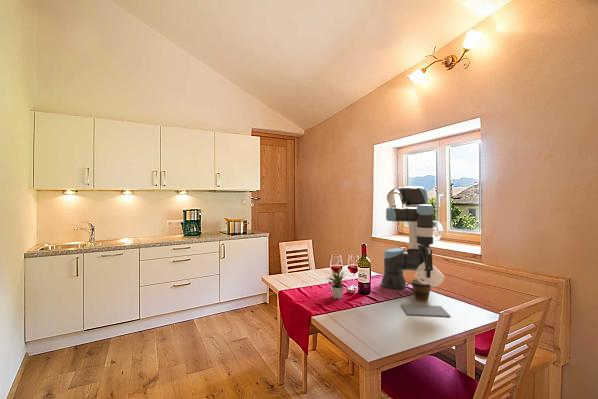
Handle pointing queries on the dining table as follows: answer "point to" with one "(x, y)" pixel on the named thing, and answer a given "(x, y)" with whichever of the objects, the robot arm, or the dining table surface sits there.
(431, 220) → the robot arm
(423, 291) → the ceramic cup
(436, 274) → the cup
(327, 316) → the dining table surface
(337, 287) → the house plant
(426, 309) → the mat
